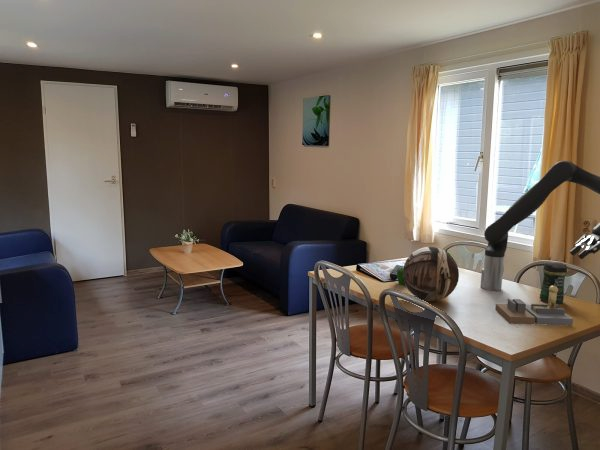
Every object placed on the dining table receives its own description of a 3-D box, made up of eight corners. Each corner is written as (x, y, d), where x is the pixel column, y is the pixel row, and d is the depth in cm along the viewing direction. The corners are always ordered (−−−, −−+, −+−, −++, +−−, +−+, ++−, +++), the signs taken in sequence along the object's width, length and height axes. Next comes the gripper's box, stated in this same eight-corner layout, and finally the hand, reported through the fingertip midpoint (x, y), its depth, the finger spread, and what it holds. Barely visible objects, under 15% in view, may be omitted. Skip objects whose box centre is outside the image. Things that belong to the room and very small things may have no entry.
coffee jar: (547, 304, 214) (551, 265, 211) (536, 299, 222) (540, 261, 219) (566, 303, 216) (571, 265, 213) (555, 298, 224) (559, 260, 220)
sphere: (460, 311, 204) (464, 255, 199) (401, 306, 209) (404, 251, 204) (453, 293, 228) (457, 243, 224) (401, 289, 233) (403, 240, 228)
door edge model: (553, 312, 205) (554, 296, 203) (572, 325, 189) (574, 309, 188) (495, 310, 206) (496, 294, 205) (509, 323, 190) (510, 307, 189)
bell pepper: (393, 282, 244) (394, 264, 243) (406, 281, 248) (407, 262, 246) (403, 287, 237) (404, 268, 235) (416, 285, 240) (417, 266, 239)
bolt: (553, 309, 198) (556, 284, 196) (557, 312, 195) (560, 287, 193) (532, 309, 198) (534, 284, 196) (535, 311, 195) (538, 286, 193)
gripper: (592, 219, 201) (561, 245, 203) (612, 225, 186) (578, 253, 189) (603, 232, 201) (572, 258, 204) (624, 238, 187) (590, 266, 190)
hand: (575, 255), depth 196 cm, fingers open, 6 cm apart
